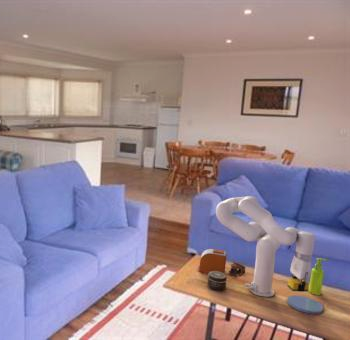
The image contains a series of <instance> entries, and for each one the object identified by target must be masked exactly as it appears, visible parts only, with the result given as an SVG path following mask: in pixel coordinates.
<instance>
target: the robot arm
mask: <svg viewBox="0 0 350 340" xmlns="http://www.w3.org/2000/svg"><path fill="white" fill-rule="evenodd" d="M238 212H239V213H240V212H241V213H242V214H244V215H245V216H247V217H249V218H250V219H251V220H252V221H250V222H247V221H245V220H243V219H242V217H241V218H240V217H239V216H236V215H234V214H233V213H238ZM215 215H216V218H217V220H218V221H219V222H220V223H221V225H223V226H224V227H225V228H226V229H229V230H230V231H231V232H233V233H234V234H236V235H237V236H239V237H240V238H242V239H243V240H244V241H246V242H248V243H253V242H255V241H257V243H256V247H255V263H254V273H253V278H252V279H253V280H252V281H251V282H249V283H244V284H243V287H244V288H248V290H249V291H250V292H251V293H252V294H254V295H256V296H259V297H263V298H269V297H270V298H271V297H274V295H275V291H274V290H273V289H272V288H273V280H274V272H275V267H276V265H275V264H276V252H277V250H279V249H280V247H281V246H282V245H283V246H292V245H293V244H295V243H296V247H295V252H294V255H293V258H292V260H291V264H290V268H289V271H290V273H291V279H300V284H299V285H298V291H297V292H300V293H301V292H302V293H303V292H305V291H304V290H305V285H306V284H307V283H309V284H310V278H311V271H312V257H313V253H314V248H315V241H316V235H315V234H314V233H312V232H310V231H304V230H301V229H298V228H295V227H292V226H288V227H286V228H283V227H282V226H281V225H279V224H278V223H277V222H276V220H275V219H274V218H273V215H272V213H271V212H270V211H269V210H267V209H266V208H264V207H263V206H262V205H260V202H259V200H258V198H256V197H255V196H253V195H252V196H251V195H249V196H248V195H247V196H246V195H245V196H238V197H229V198H227V199H224V200H222V201H220V202H219V203H218V204H217V206H216V207H215ZM302 280H304V281H303V282H302Z"/></svg>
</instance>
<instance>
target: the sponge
mask: <svg viewBox="0 0 350 340" xmlns="http://www.w3.org/2000/svg"><path fill="white" fill-rule="evenodd" d="M303 281H304V280H302V282H303ZM299 284H300V279H298V278H297V279H292V278H288V280H287V288H288V289H290V290H291V291H292V292H299V291H298V285H299ZM309 285H310V283H307V284H306V285H305V290H304V292H309Z"/></svg>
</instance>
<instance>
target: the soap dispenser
mask: <svg viewBox="0 0 350 340" xmlns="http://www.w3.org/2000/svg"><path fill="white" fill-rule="evenodd" d="M315 259H316V263H315V264H314V267H311V271H310V277H309V281H310V283H309V287H308V292H309V293H310V294H312V295H316V296H320V295H321V294H322V288H323V283H324V282H323V281H324V276H325V271H324V269H323V264H322V261H323V262H329V260H328V259H327V258H323V257H316V258H315Z"/></svg>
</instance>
